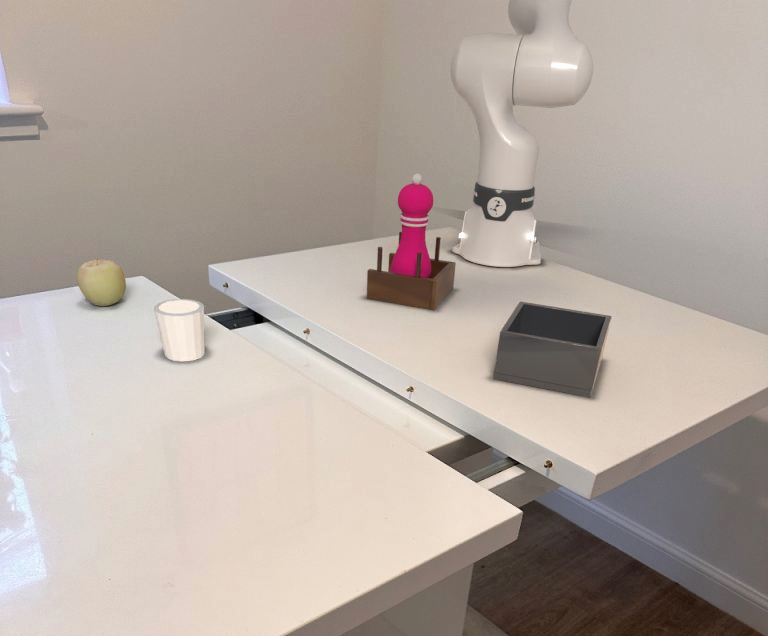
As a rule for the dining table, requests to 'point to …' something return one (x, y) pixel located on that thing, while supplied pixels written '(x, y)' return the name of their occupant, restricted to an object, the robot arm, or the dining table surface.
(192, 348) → the white cup
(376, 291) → the rack
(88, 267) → the fruit
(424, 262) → the pepper mill
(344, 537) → the dining table surface
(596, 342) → the gray open box
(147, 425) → the dining table surface
